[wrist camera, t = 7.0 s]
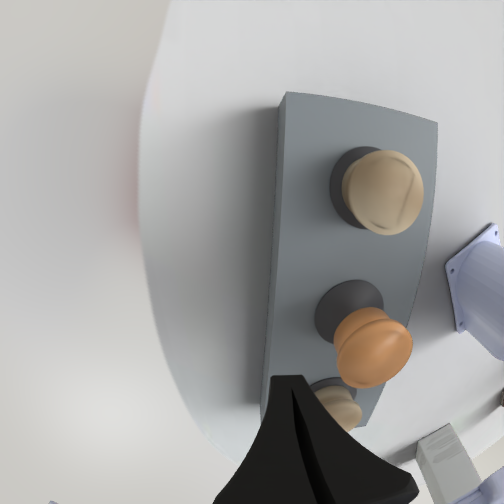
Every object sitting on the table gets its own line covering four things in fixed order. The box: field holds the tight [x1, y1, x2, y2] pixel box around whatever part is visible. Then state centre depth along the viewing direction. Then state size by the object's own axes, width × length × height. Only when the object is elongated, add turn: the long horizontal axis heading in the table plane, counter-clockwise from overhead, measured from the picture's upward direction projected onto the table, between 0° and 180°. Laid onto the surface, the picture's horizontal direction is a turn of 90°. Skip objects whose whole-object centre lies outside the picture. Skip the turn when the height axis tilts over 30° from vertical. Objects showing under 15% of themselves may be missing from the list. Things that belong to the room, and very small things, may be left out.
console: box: [260, 92, 438, 428], centre depth 19 cm, size 26×10×4 cm, turn 178°
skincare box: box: [416, 423, 482, 504], centre depth 23 cm, size 8×7×16 cm
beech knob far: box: [315, 386, 362, 432], centre depth 18 cm, size 4×4×2 cm
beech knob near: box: [342, 150, 424, 235], centre depth 13 cm, size 4×4×2 cm
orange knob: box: [334, 307, 413, 389], centre depth 14 cm, size 4×4×2 cm
